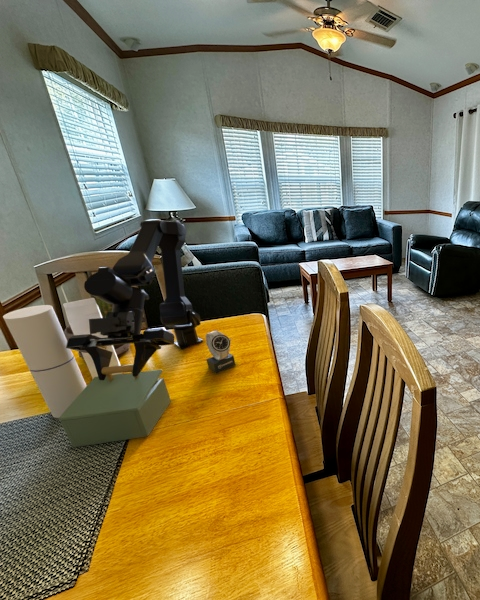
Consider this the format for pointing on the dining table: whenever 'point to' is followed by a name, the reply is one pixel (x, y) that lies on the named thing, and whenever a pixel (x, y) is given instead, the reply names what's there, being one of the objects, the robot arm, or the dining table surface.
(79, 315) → the milk
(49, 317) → the cylindrical container
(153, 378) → the lid
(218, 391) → the dining table surface
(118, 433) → the green hinged box
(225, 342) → the watch
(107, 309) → the flowerpot
